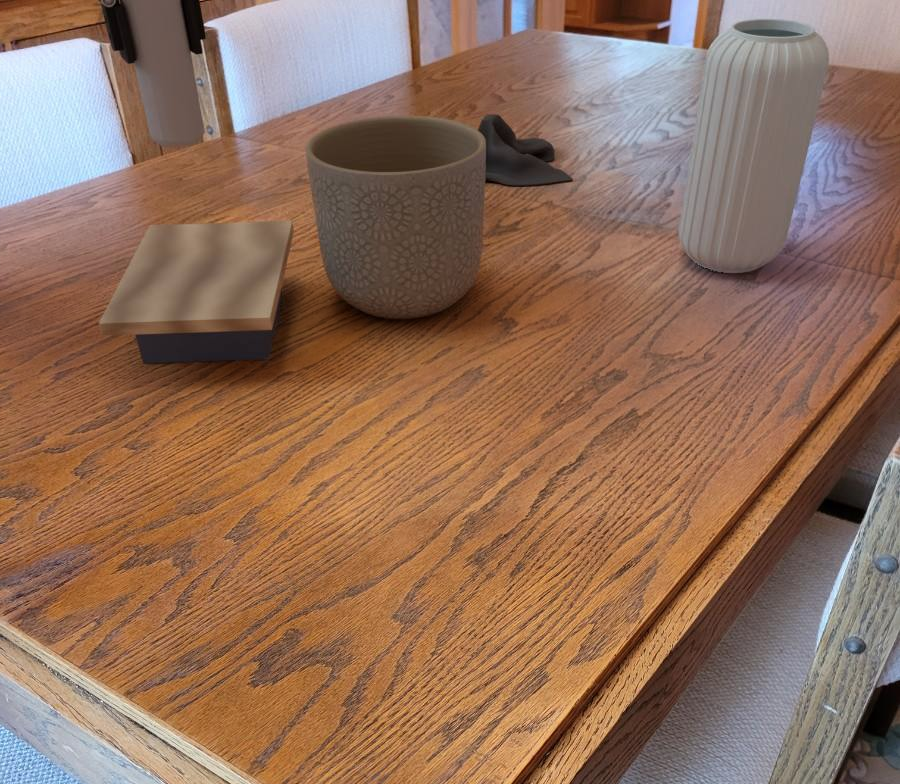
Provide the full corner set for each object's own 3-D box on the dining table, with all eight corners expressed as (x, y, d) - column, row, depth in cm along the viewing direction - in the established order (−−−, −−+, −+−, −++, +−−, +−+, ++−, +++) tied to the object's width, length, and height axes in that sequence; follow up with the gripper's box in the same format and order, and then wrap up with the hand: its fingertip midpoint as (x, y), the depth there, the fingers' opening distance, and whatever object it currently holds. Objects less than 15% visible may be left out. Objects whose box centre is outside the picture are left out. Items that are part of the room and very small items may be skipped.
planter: (515, 309, 92) (520, 150, 82) (367, 352, 87) (352, 186, 76) (435, 252, 103) (431, 105, 93) (299, 287, 97) (277, 133, 87)
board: (102, 335, 79) (98, 323, 79) (152, 236, 95) (149, 225, 95) (272, 330, 80) (270, 317, 79) (294, 231, 96) (292, 220, 95)
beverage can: (190, 128, 82) (159, -30, 74) (216, 140, 80) (187, -22, 71) (142, 139, 80) (104, -22, 72) (167, 152, 78) (130, -14, 69)
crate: (143, 363, 86) (129, 314, 82) (170, 298, 96) (159, 251, 92) (269, 359, 86) (260, 309, 83) (283, 294, 96) (276, 247, 93)
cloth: (398, 180, 120) (396, 130, 116) (444, 137, 133) (443, 91, 129) (561, 196, 115) (564, 145, 111) (592, 150, 128) (596, 102, 123)
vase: (653, 257, 101) (685, 27, 86) (717, 230, 106) (759, 9, 91) (737, 291, 95) (788, 49, 79) (801, 260, 100) (861, 27, 84)
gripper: (203, -245, 68) (245, 33, 81) (-36, -239, 63) (49, 59, 75) (233, -245, 63) (273, 51, 76) (-23, -238, 58) (66, 80, 70)
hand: (161, 52), depth 75 cm, fingers closed on beverage can, 4 cm apart
